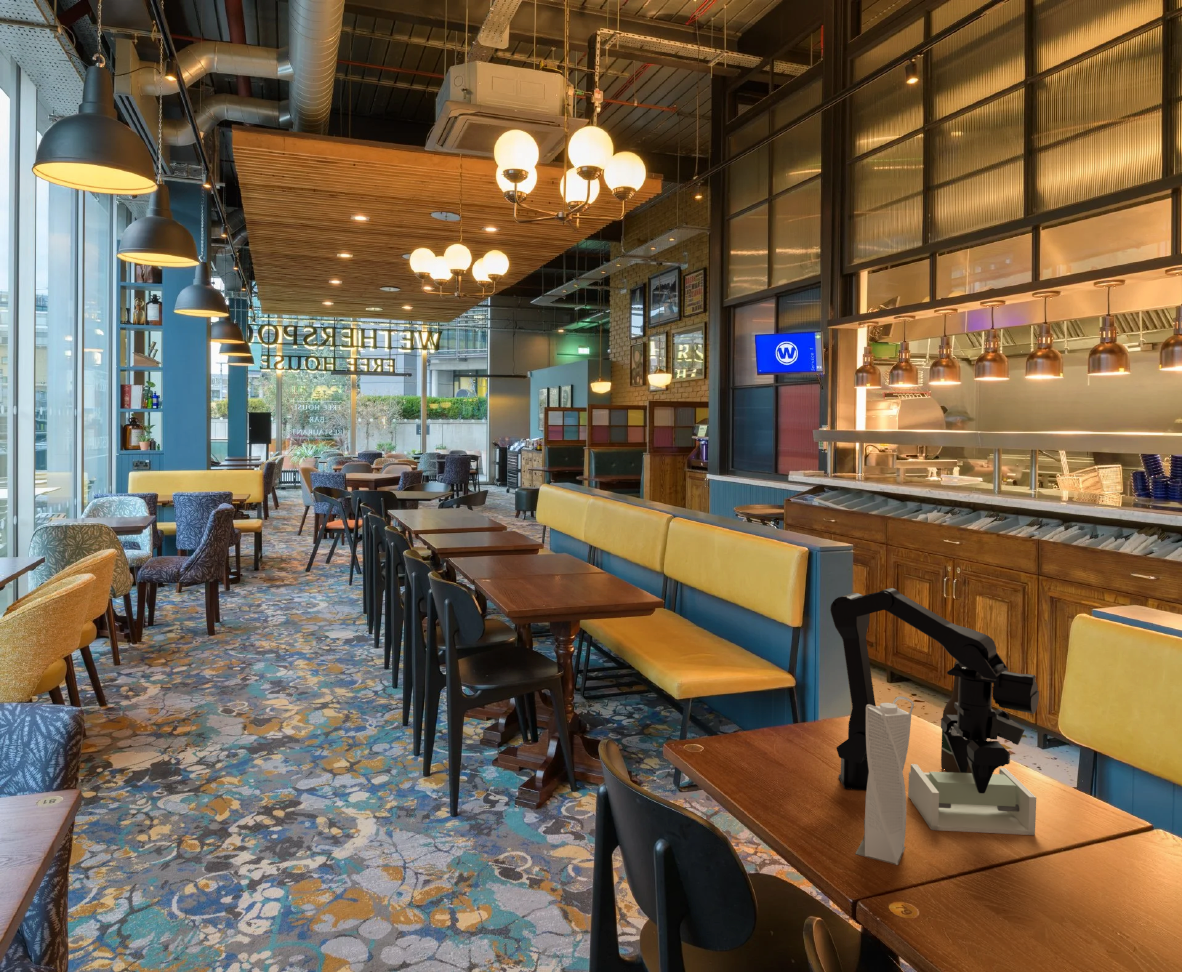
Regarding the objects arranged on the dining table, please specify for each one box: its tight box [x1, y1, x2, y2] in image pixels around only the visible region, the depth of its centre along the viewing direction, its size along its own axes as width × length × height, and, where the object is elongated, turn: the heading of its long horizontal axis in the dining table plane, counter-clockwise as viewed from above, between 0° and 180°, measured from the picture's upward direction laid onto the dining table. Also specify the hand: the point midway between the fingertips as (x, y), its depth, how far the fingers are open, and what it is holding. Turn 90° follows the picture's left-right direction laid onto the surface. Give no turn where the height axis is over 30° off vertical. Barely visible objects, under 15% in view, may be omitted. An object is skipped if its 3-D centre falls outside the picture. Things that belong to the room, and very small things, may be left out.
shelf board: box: [928, 771, 1016, 806], centre depth 154 cm, size 14×5×4 cm, turn 85°
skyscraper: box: [855, 695, 915, 866], centre depth 140 cm, size 8×8×28 cm
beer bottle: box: [940, 660, 972, 773], centre depth 176 cm, size 8×8×24 cm
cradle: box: [907, 763, 1037, 836], centre depth 155 cm, size 18×14×7 cm
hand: (972, 782), depth 154 cm, fingers open, 9 cm apart
